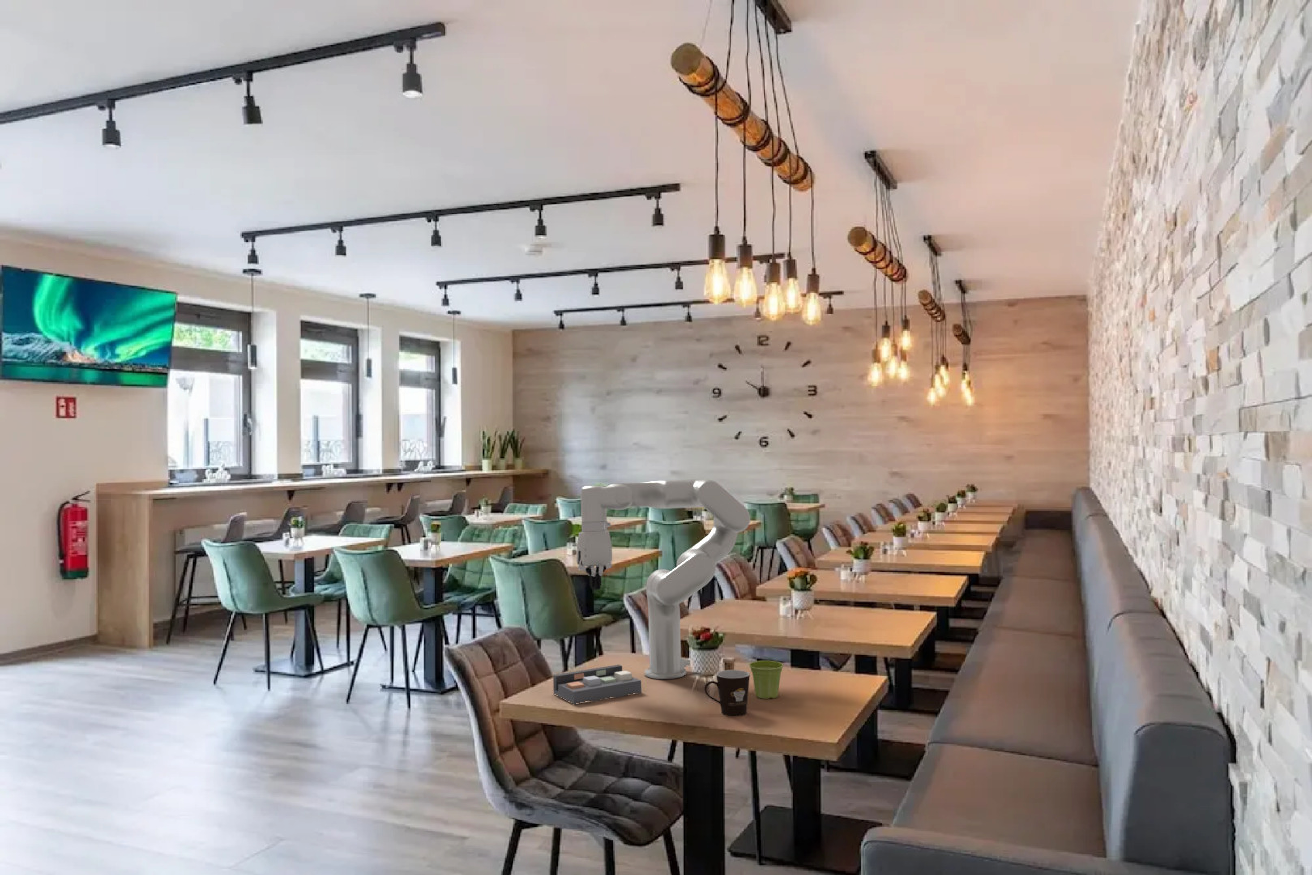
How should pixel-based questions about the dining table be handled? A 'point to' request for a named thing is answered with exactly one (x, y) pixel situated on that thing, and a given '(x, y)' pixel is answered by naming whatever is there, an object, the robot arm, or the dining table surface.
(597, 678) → the key slate
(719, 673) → the coffee mug
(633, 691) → the keypad
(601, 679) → the key sage
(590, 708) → the dining table surface
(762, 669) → the plant pot
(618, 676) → the key cream
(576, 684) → the key terracotta
